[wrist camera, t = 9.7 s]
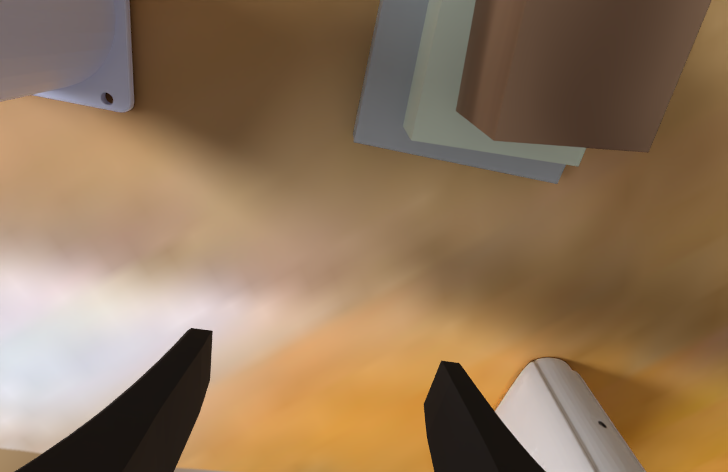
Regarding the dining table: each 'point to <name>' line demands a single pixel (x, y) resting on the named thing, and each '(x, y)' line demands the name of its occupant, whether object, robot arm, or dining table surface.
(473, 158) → the tower base slab
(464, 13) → the tower top slab
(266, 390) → the dining table surface
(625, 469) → the photo printer
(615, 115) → the walnut cube
